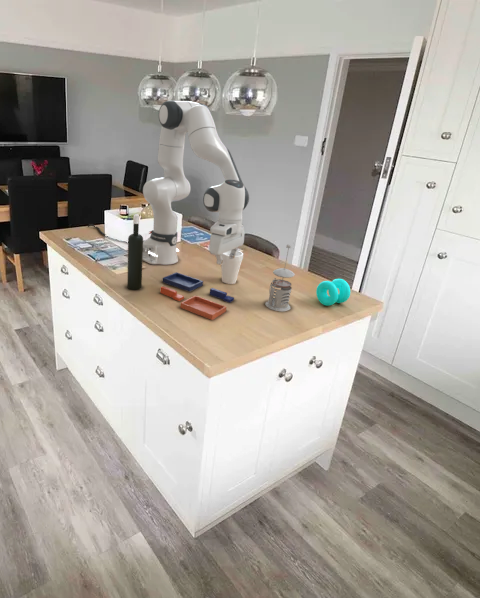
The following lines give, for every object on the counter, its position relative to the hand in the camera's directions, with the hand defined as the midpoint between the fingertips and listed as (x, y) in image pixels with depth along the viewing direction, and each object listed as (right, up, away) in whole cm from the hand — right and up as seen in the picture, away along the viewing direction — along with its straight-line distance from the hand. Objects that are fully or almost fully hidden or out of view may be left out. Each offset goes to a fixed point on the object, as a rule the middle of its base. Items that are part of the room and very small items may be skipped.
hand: (225, 261), depth 160 cm
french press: (+20, -18, +2) cm, 27 cm away
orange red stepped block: (-21, -13, +4) cm, 25 cm away
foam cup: (+4, -7, +23) cm, 24 cm away
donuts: (+43, -17, +9) cm, 47 cm away
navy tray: (-17, -8, +16) cm, 25 cm away
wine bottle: (-36, -10, +9) cm, 39 cm away
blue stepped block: (-1, -14, +6) cm, 15 cm away
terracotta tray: (-9, -19, -5) cm, 21 cm away
